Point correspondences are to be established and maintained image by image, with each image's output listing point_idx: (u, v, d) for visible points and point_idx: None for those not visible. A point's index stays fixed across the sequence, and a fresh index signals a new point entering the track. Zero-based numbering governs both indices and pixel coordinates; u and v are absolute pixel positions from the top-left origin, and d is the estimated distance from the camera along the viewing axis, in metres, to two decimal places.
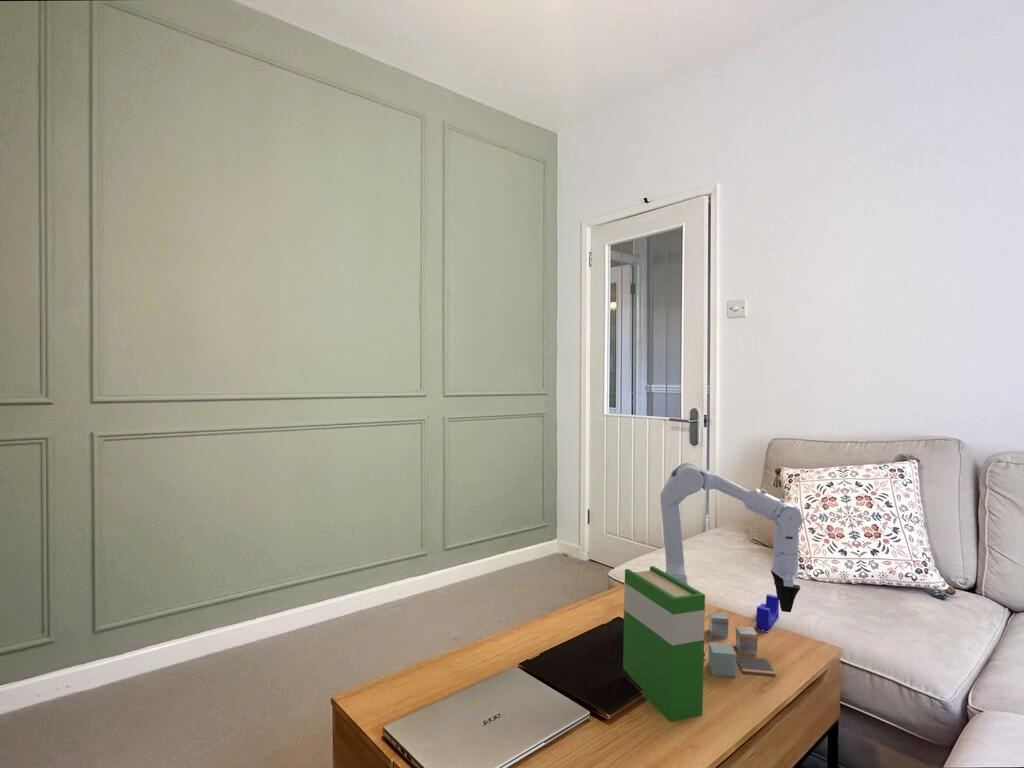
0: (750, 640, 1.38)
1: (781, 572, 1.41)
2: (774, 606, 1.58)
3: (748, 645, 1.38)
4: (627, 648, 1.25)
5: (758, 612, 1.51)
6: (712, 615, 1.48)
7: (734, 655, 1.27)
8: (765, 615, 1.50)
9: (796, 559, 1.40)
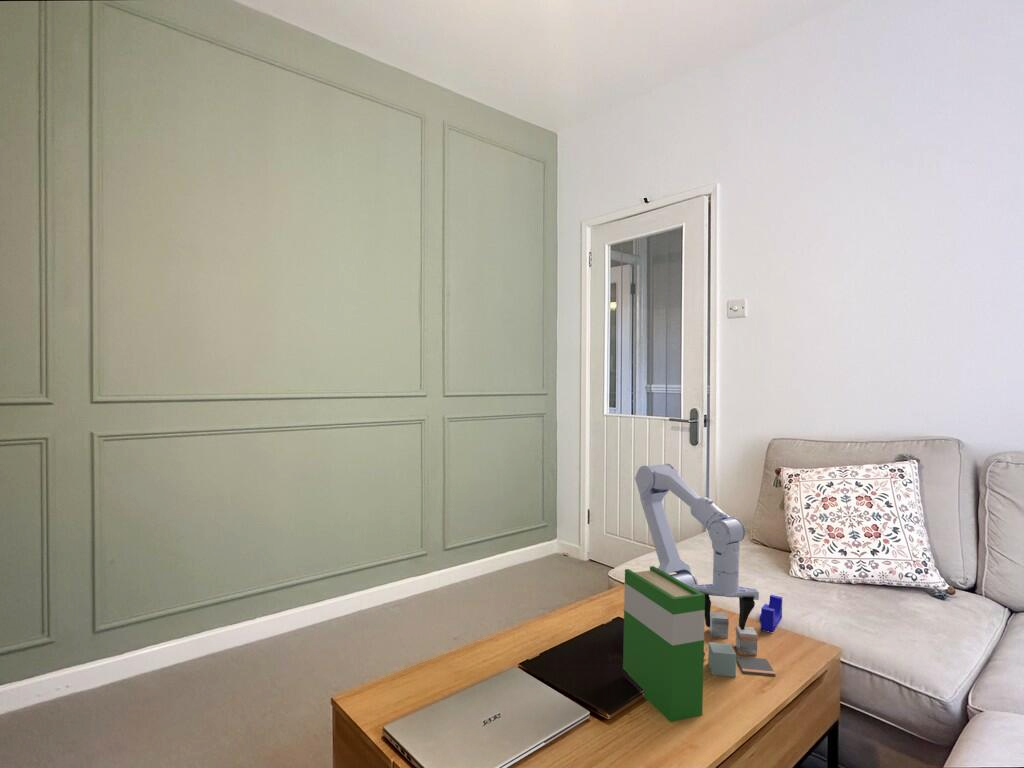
0: (750, 640, 1.38)
1: (712, 585, 1.36)
2: (778, 607, 1.58)
3: (748, 645, 1.38)
4: (627, 648, 1.25)
5: (763, 613, 1.51)
6: (712, 615, 1.48)
7: (734, 655, 1.27)
8: (770, 616, 1.50)
9: (720, 577, 1.33)
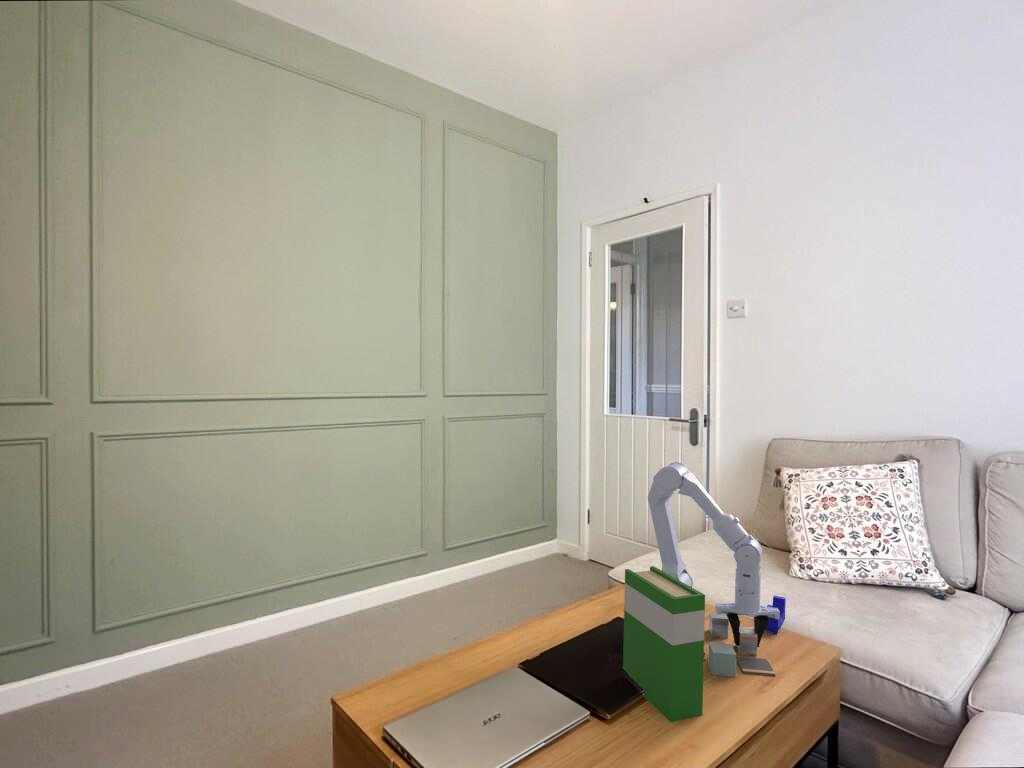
0: (750, 640, 1.38)
1: (734, 605, 1.41)
2: (781, 607, 1.58)
3: (748, 645, 1.38)
4: (627, 648, 1.25)
5: None
6: (712, 615, 1.48)
7: (734, 655, 1.27)
8: None
9: (742, 597, 1.38)
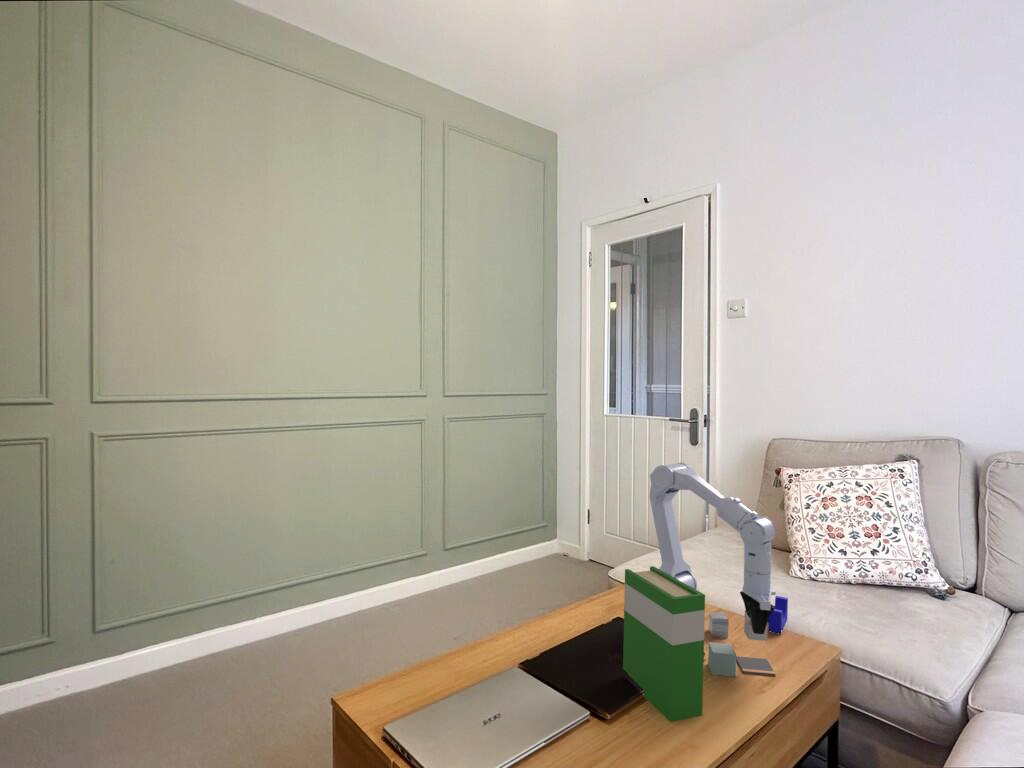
0: None
1: (754, 593, 1.29)
2: (783, 607, 1.57)
3: None
4: (627, 648, 1.25)
5: None
6: (712, 615, 1.48)
7: (734, 655, 1.27)
8: (778, 617, 1.49)
9: (769, 578, 1.30)
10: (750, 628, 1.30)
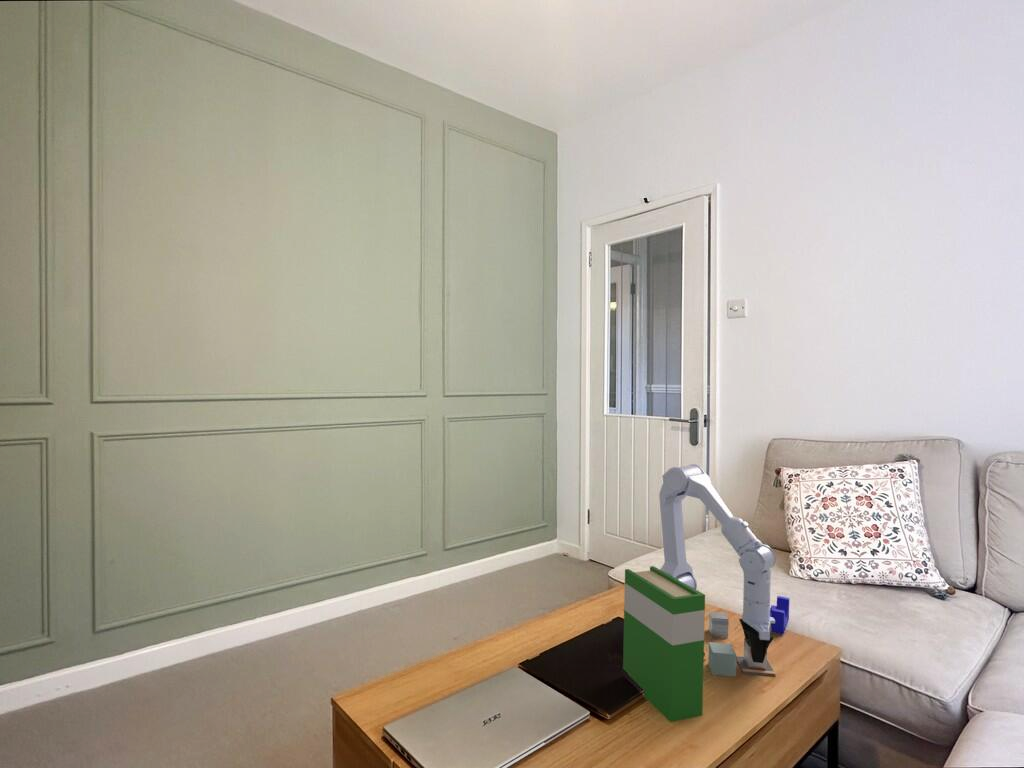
0: None
1: (754, 622, 1.29)
2: (785, 608, 1.57)
3: None
4: (627, 648, 1.25)
5: (773, 615, 1.50)
6: (712, 615, 1.48)
7: (734, 655, 1.27)
8: (780, 618, 1.49)
9: (768, 607, 1.30)
10: (749, 657, 1.30)
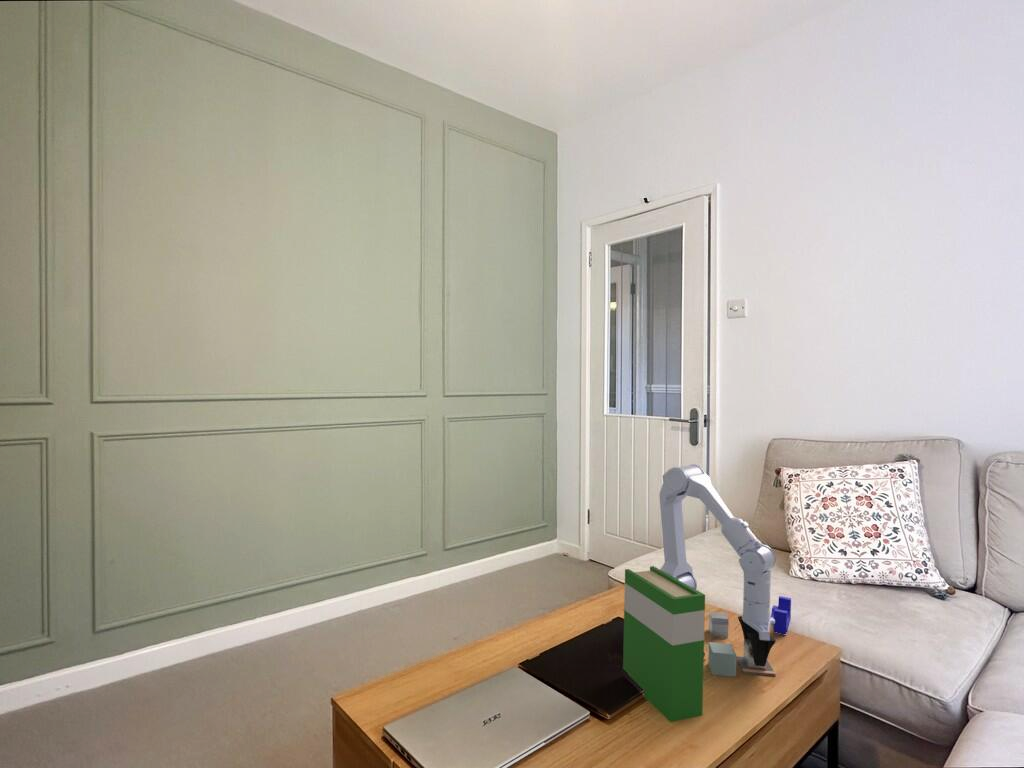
0: None
1: (754, 623, 1.29)
2: (787, 608, 1.57)
3: None
4: (627, 648, 1.25)
5: (775, 615, 1.50)
6: (712, 615, 1.48)
7: (734, 655, 1.27)
8: (783, 618, 1.49)
9: (768, 607, 1.30)
10: (749, 657, 1.30)
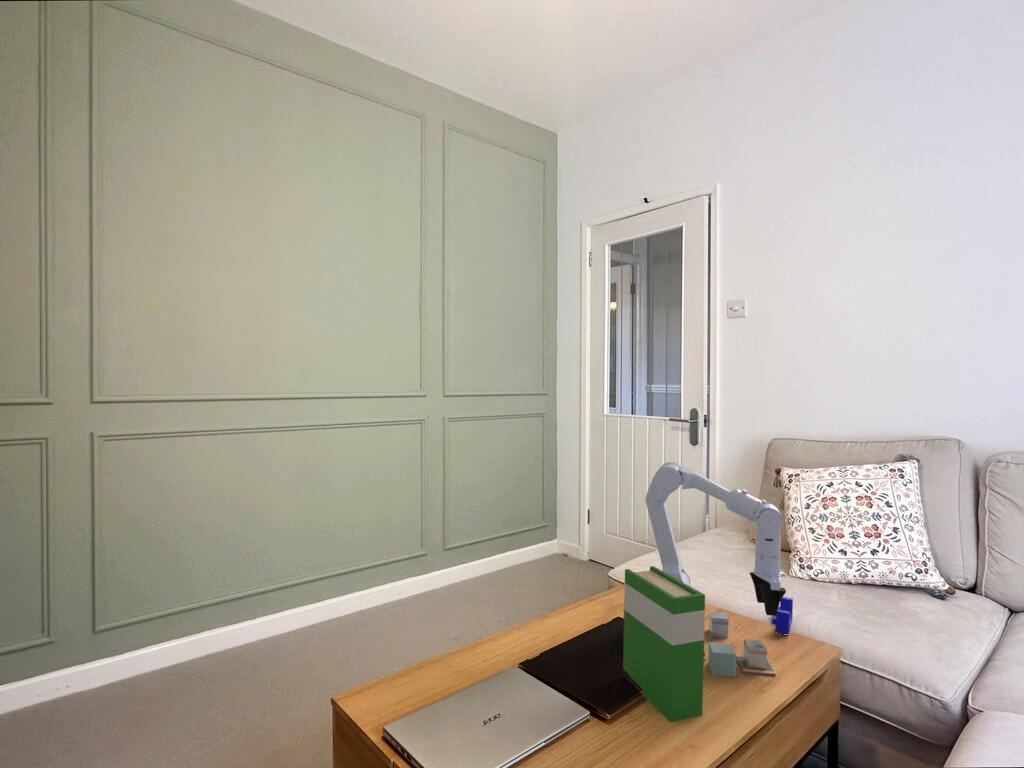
0: None
1: (765, 575, 1.38)
2: (789, 608, 1.57)
3: None
4: (627, 648, 1.25)
5: (778, 616, 1.49)
6: (712, 615, 1.48)
7: (734, 655, 1.27)
8: (785, 618, 1.49)
9: (779, 561, 1.39)
10: (749, 657, 1.30)
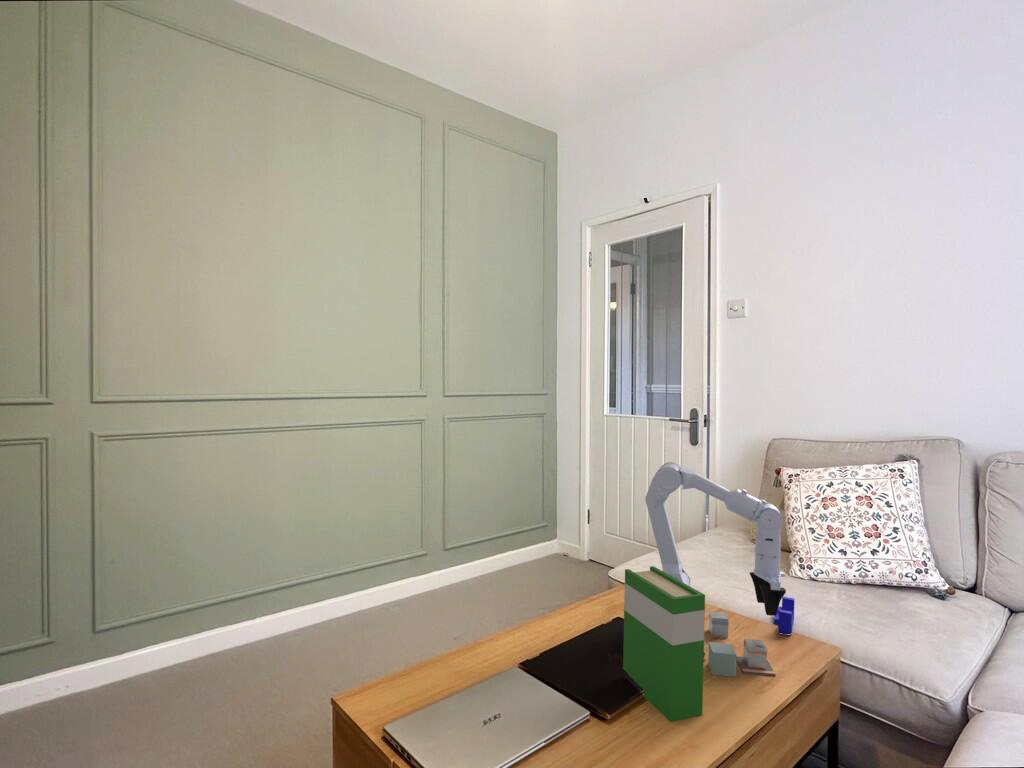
0: None
1: (765, 575, 1.38)
2: (791, 608, 1.57)
3: None
4: (627, 648, 1.25)
5: (780, 616, 1.49)
6: (712, 615, 1.48)
7: (734, 655, 1.27)
8: (788, 619, 1.48)
9: (779, 561, 1.39)
10: (749, 657, 1.30)
